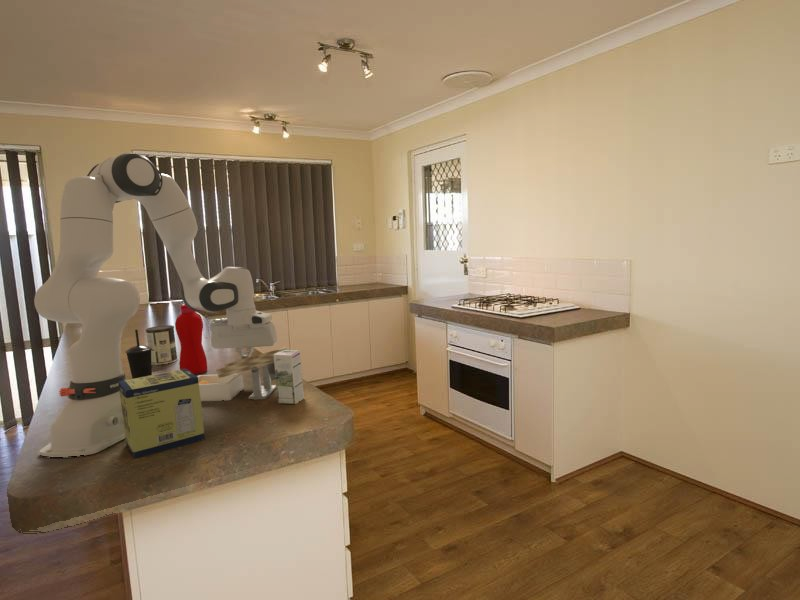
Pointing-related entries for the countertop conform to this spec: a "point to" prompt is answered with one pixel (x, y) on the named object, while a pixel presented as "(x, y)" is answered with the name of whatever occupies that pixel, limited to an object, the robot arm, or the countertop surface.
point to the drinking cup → (139, 359)
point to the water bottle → (191, 341)
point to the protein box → (161, 411)
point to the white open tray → (220, 387)
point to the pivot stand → (259, 390)
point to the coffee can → (162, 344)
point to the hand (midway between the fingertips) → (246, 360)
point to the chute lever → (251, 364)
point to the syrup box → (288, 376)
